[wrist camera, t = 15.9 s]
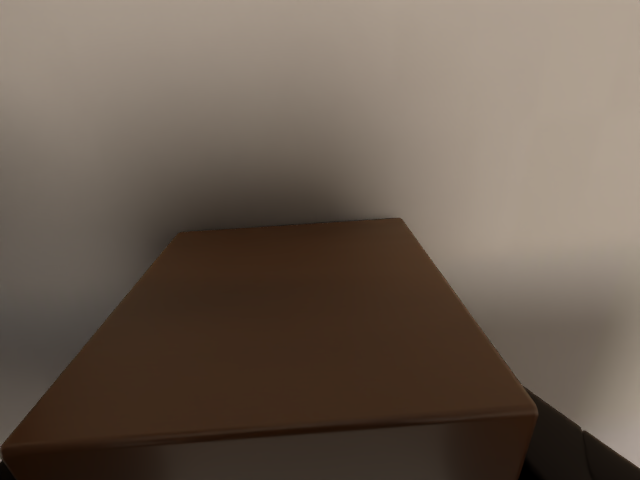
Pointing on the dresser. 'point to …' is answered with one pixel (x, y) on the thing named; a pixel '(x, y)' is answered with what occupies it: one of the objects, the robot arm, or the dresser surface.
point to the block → (283, 369)
